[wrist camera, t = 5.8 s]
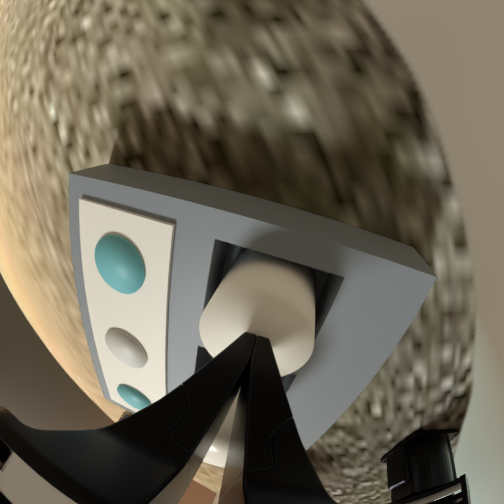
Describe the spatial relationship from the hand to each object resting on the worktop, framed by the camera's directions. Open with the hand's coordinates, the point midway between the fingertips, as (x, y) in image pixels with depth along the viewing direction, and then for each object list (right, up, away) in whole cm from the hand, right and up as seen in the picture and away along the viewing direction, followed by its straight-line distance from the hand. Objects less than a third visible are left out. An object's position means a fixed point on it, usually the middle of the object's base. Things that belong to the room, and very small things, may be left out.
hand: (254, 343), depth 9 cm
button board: (-2, -2, +7) cm, 8 cm away
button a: (+1, +2, +4) cm, 4 cm away
